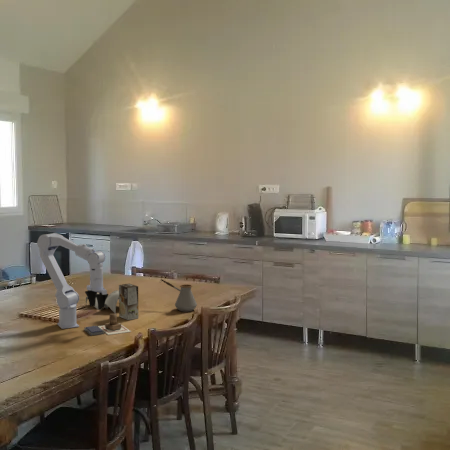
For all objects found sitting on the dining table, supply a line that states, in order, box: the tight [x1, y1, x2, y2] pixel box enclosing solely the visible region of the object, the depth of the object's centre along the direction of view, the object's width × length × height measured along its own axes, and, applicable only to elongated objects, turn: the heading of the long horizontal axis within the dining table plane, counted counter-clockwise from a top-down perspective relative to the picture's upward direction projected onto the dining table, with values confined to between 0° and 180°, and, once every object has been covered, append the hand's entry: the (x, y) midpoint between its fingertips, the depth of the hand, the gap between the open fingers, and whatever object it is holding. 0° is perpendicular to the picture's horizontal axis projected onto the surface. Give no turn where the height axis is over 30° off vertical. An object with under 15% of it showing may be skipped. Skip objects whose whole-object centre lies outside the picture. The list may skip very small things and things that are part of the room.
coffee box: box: [118, 283, 139, 321], centre depth 272 cm, size 9×6×16 cm
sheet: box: [97, 323, 132, 336], centre depth 252 cm, size 15×10×1 cm
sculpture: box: [85, 289, 119, 314], centre depth 293 cm, size 25×19×10 cm
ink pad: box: [83, 325, 105, 337], centre depth 247 cm, size 10×6×2 cm, turn 30°
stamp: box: [104, 313, 122, 331], centre depth 251 cm, size 6×4×7 cm
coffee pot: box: [159, 278, 198, 312], centre depth 291 cm, size 21×12×15 cm, turn 65°
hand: (96, 307), depth 251 cm, fingers open, 7 cm apart
